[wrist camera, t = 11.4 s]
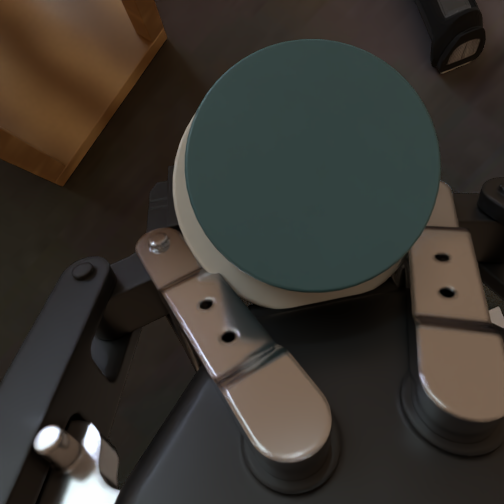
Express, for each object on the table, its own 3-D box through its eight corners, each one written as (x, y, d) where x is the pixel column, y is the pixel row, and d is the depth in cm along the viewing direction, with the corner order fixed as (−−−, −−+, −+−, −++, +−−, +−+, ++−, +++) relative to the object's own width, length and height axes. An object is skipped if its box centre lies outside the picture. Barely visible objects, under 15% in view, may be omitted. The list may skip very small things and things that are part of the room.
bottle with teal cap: (286, 312, 18) (361, 391, 6) (191, 249, 18) (86, 206, 6) (348, 218, 19) (534, 120, 7) (254, 155, 19) (268, -54, 7)
